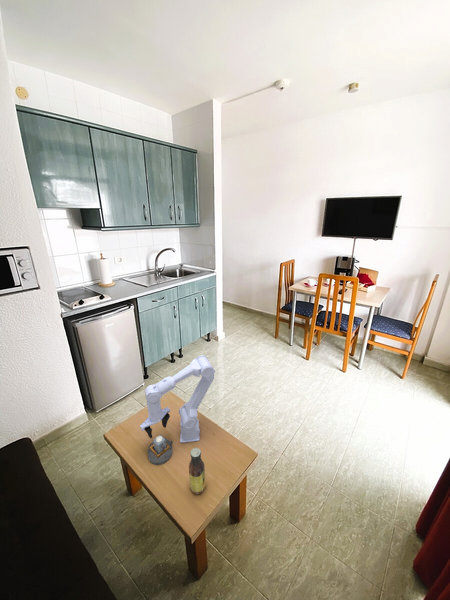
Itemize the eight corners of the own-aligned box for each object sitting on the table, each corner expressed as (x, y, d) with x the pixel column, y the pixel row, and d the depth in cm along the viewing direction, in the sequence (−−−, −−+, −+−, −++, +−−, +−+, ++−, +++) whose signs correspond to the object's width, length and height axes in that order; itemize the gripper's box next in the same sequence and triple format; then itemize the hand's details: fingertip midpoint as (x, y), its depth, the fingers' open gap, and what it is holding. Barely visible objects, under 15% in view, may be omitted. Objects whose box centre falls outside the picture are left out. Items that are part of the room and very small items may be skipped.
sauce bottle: (207, 492, 99) (205, 458, 92) (191, 497, 97) (189, 463, 90) (203, 476, 105) (202, 443, 97) (189, 481, 103) (186, 447, 96)
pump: (161, 443, 116) (160, 433, 113) (168, 450, 113) (166, 440, 110) (154, 449, 113) (152, 438, 111) (160, 456, 110) (159, 446, 107)
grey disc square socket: (165, 437, 122) (164, 430, 121) (179, 450, 116) (178, 444, 114) (143, 453, 114) (142, 447, 113) (157, 470, 107) (156, 463, 106)
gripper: (162, 396, 117) (165, 417, 122) (135, 414, 107) (138, 436, 112) (171, 403, 113) (173, 425, 118) (143, 423, 103) (147, 446, 108)
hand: (157, 431), depth 115 cm, fingers open, 7 cm apart
